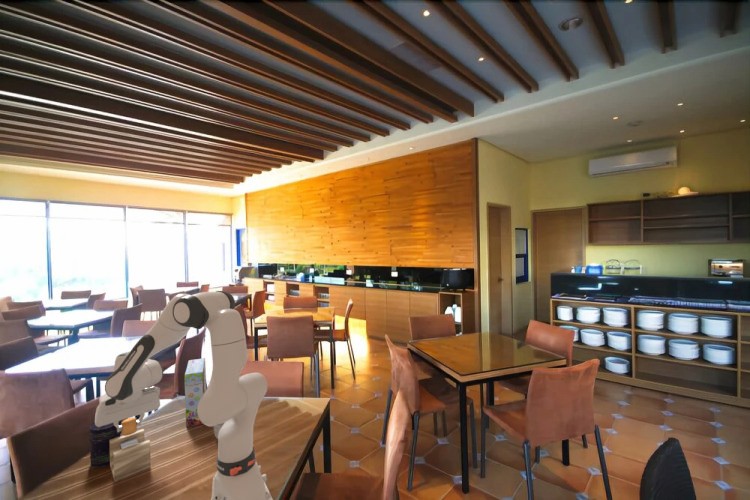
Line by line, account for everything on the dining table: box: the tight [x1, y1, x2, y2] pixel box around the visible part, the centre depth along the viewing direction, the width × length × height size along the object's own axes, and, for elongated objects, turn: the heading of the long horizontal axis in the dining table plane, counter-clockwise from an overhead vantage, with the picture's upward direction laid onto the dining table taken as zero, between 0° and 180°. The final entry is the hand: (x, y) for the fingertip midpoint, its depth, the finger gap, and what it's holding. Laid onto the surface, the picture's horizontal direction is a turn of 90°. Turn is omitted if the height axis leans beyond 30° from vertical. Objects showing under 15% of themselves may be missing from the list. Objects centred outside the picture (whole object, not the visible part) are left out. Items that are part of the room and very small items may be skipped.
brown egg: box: [121, 417, 138, 436], centre depth 127 cm, size 5×5×4 cm
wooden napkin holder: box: [109, 428, 152, 483], centre depth 127 cm, size 13×11×10 cm
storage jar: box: [89, 420, 122, 469], centre depth 131 cm, size 10×10×15 cm
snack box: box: [183, 357, 207, 428], centre depth 165 cm, size 22×9×26 cm, turn 25°
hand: (129, 428), depth 127 cm, fingers closed on brown egg, 5 cm apart
